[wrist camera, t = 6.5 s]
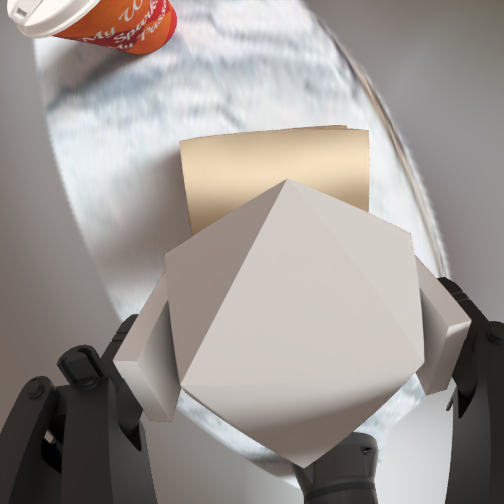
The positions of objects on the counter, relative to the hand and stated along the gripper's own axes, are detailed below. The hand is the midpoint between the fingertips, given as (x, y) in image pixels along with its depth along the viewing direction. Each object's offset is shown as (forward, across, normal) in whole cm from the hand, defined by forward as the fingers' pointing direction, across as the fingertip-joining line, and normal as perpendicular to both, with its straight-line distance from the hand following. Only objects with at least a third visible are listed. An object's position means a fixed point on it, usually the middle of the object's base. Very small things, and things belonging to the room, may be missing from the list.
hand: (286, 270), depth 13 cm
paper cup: (+14, +8, -17) cm, 24 cm away
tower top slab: (+10, 0, 0) cm, 10 cm away
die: (0, 0, 0) cm, 0 cm away
